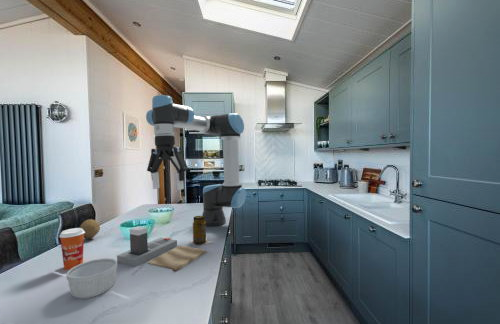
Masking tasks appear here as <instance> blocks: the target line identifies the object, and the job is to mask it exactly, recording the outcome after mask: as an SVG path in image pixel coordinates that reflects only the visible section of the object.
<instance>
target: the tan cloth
mask: <svg viewBox="0 0 500 324" xmlns="http://www.w3.org/2000/svg"><path fill="white" fill-rule="evenodd" d="M206 253H207V249H203V248H197V247H192V246H186V245H181V244H180V245H177V246H176V247H174V248H172V249H170V250H168V251H166V252H164V253H162V254H160V255H158V256H156V257H154V258H152V259H150V260H148V261H147V264H149V265H153V266H158V267H163V268H167V269H170V270H172V271H173V272H177V271H179V270H180V269H182V268H183V267H185V266H188V265H189V264H190V263H191V262H193V261H195V260H196V259H198V258H200V257H201V256H202V255H204V254H206Z"/></svg>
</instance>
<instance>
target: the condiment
mask: <svg viewBox="0 0 500 324" xmlns="http://www.w3.org/2000/svg"><path fill="white" fill-rule="evenodd" d="M192 234H193V235H192V240H190V241H189V242H190V243H191V244H194V245H195V246H203V245H207V244H211V243H212V241H210V240H208V239H207V226H206V222H205V217H204V216H202V215H196V216H193V222H192Z"/></svg>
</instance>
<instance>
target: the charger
mask: <svg viewBox="0 0 500 324" xmlns="http://www.w3.org/2000/svg"><path fill="white" fill-rule="evenodd" d="M148 243H149V242H148V227H145V226H135V227H132V228H129V245H130V246H129V250H130V251H131V254H134V255H138V256H140V255H142V254H144V253H146V252H148Z"/></svg>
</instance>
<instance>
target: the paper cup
mask: <svg viewBox="0 0 500 324" xmlns="http://www.w3.org/2000/svg"><path fill="white" fill-rule="evenodd" d="M84 233H85V231H84V230H83V229H82V228H80V227H75V228H68V229H65V230H62V231H61V232H60V235H59V239H60V248H61V255H62V263H63V269H64V270H65V271H69V270H70V269H72V268H73V267H75V266H77V265H79V264H82V263H84V241H85V240H84V239H85V238H84Z"/></svg>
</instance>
